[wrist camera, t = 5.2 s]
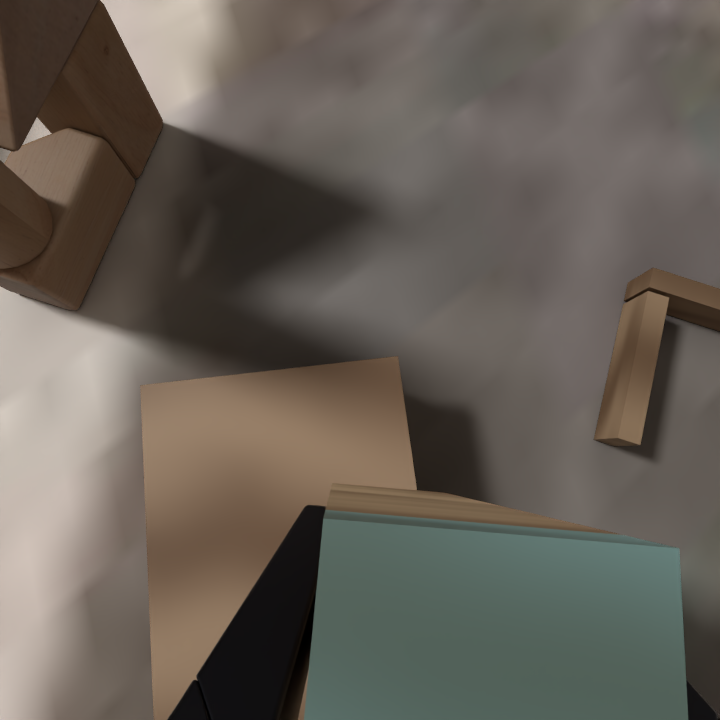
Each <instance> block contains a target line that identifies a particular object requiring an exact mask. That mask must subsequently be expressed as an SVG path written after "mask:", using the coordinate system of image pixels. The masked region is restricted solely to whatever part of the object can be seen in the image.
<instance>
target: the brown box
mask: <svg viewBox="0 0 720 720" xmlns="http://www.w3.org/2000/svg"><path fill="white" fill-rule="evenodd" d="M140 387H141V412H142V437H143V462H144V487H145V512H146V537H147V562H148V587H149V612H150V637H151V662H152V687H153V711H154V720H167V719H168V717H169V716H170V714H171V713H172V711H173V710H174V708H175V707H176V705H177V704H178V702H179V701H180V699H181V698H182V696H183V695H184V693H185V692H186V690H187V688H188V687H189V685H190V684H191V682H192V681H193V680H197V679H196V675H197V673H198V672H199V670H200V669H201V667H202V666H203V664H204V662H205V661H206V659H207V658H208V656H209V655H210V653H211V652H212V650H213V648H214V647H215V645H216V644H217V642H218V641H219V639H220V637H221V636H222V634H223V633H224V631H225V630H226V628H227V627H228V625H229V623H230V622H231V620H232V619H233V617H234V616H235V614H236V613H237V611H238V609H239V608H240V606H241V605H242V603H243V602H244V600H245V599H246V597H247V595H248V594H249V592H250V591H251V589H252V588H253V586H254V585H255V583H256V581H257V580H258V578H259V577H260V575H261V574H262V572H263V571H264V569H265V567H266V566H267V564H268V563H269V561H270V560H271V558H272V557H273V555H274V553H275V552H276V550H277V549H278V547H279V546H280V544H281V542H282V541H283V539H284V538H285V536H286V535H287V533H288V532H289V530H290V528H291V527H292V525H293V524H294V522H295V521H296V519H297V518H298V516H299V514H300V513H301V511H302V510H303V508H304V507H305V506H306V505H320V506H327V502H328V498H329V494H330V490H331V486H332V483H338V484H350V485H361V486H373V487H385V488H396V489H408V490H417V487H416V480H415V473H414V466H413V459H412V452H411V445H410V438H409V431H408V424H407V417H406V410H405V403H404V396H403V389H402V382H401V375H400V368H399V361H398V356H395V357H386V358H377V359H368V360H359V361H350V362H342V363H333V364H324V365H315V366H306V367H298V368H289V369H280V370H271V371H262V372H253V373H245V374H236V375H227V376H218V377H209V378H201V379H192V380H183V381H174V382H165V383H157V384H148V385H140ZM308 672H309V670H308ZM307 683H308V675H307V679H306V684H305V689H304V693H303V698H302V703H301V707H300V712H299V717H298V720H304V714H305V703H306V693H307Z"/></svg>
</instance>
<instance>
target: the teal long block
mask: <svg viewBox="0 0 720 720" xmlns="http://www.w3.org/2000/svg"><path fill="white" fill-rule="evenodd" d="M304 720H688V705H687V686H686V667H685V648H684V629H683V610H682V592H681V573H680V554H679V548H676V547H671V546H667V545H663V544H659V543H654V542H650V541H646V540H642V539H638V538H633V537H629V536H625V535H621V534H617V533H612V532H608V531H604V530H600V529H596V528H591V527H587V526H583V525H579V524H574V523H570V522H566V521H562V520H558V519H553V518H549V517H545V516H541V515H537V514H532V513H528V512H524V511H520V510H515V509H511V508H507V507H503V506H499V505H494V504H490V503H486V502H482V501H478V500H473V499H469V498H465V497H461V496H457V495H452V494H448V493H443V492H431V491H419V490H408V489H396V488H385V487H373V486H361V485H350V484H338V483H332V486H331V490H330V494H329V498H328V502H327V506H326V510H325V514H324V518H323V527H322V538H321V548H320V558H319V569H318V579H317V590H316V600H315V610H314V621H313V631H312V641H311V652H310V662H309V672H308V683H307V693H306V703H305V714H304Z"/></svg>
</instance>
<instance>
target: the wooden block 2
mask: <svg viewBox="0 0 720 720" xmlns="http://www.w3.org/2000/svg"><path fill="white" fill-rule="evenodd" d="M36 117H38V119H39V120H40V121H41V122H42V123H43V124H44V125H45V127H46V128H47V129H48V130H49V131H50V132H51V133H52V134H50V135H47V136H45V137H42V138H40V139H37V140H35V141H32V142H30V143H27V144H25V145H22V144H23V142H24V140H25V138H26V136H27V135H28V133H29V131H30V129H31V127H32V125H33V123H34V121H35V119H36ZM162 126H163V120H162V118H161V116H160V114H159V112H158V110H157V108H156V106H155V104H154V102H153V100H152V98H151V96H150V94H149V92H148V90H147V88H146V86H145V84H144V82H143V80H142V79H141V77H140V75H139V73H138V71H137V69H136V67H135V65H134V63H133V61H132V59H131V57H130V55H129V53H128V51H127V49H126V47H125V45H124V43H123V41H122V39H121V37H120V35H119V33H118V31H117V29H116V27H115V25H114V23H113V21H112V19H111V17H110V16H109V14H108V12H107V10H106V8H105V6H104V4H103V3H102V2H101V1H100V0H0V148H3V149H7V150H10V151H11V153H10V154H9V156H8V158H7V160H6V162H5V164H4V163H3V162H2V161H0V286H1V287H3V288H5V289H7V290H9V291H11V292H15V293H18V294H21V295H24V296H27V297H30V298H33V299H36V300H39V301H43V302H46V303H49V304H52V305H55V306H58V307H61V308H64V309H67V310H77V309H78V308H79V307H80V305H81V303H82V301H83V299H84V296H85V294H86V292H87V290H88V288H89V285H90V283H91V281H92V279H93V277H94V275H95V272H96V270H97V268H98V266H99V264H100V261H101V259H102V257H103V255H104V253H105V251H106V248H107V246H108V244H109V242H110V240H111V237H112V235H113V233H114V231H115V229H116V227H117V224H118V222H119V220H120V218H121V216H122V214H123V211H124V209H125V207H126V205H127V203H128V200H129V198H130V196H131V194H132V192H133V190H134V187H135V180H134V178H138V177H139V176H140V175H141V173H142V171H143V169H144V167H145V164H146V162H147V160H148V158H149V156H150V153H151V151H152V149H153V147H154V145H155V143H156V140H157V138H158V136H159V134H160V132H161V129H162Z"/></svg>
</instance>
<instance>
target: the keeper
mask: <svg viewBox="0 0 720 720" xmlns="http://www.w3.org/2000/svg"><path fill="white" fill-rule="evenodd" d="M624 301H626V302H627V303H625V304H623V308H622V312H621V317H620V322H619V326H618V331H617V335H616V340H615V345H614V349H613V354H612V358H611V363H610V368H609V372H608V377H607V381H606V386H605V391H604V395H603V400H602V404H601V409H600V414H599V418H598V423H597V427H596V432H595V437H594V440H596V441H600V442H603V443H606V444H609V445H612V446H632V445H640V444H641V439H642V434H643V429H644V423H645V418H646V413H647V408H648V403H649V398H650V393H651V388H652V383H653V378H654V373H655V368H656V363H657V357H658V352H659V347H660V342H661V337H662V332H663V327H664V322H665V317H666V314H667V315H670V316H673V317H676V318H679V319H682V320H686V321H689V322H692V323H695V324H698V325H701V326H704V327H707V328H710V329H714V330H717V331H720V289H719V288H715V287H712V286H709V285H706V284H703V283H700V282H697V281H694V280H690V279H687V278H684V277H681V276H678V275H675V274H672V273H669V272H665V271H662V270H659V269H656V268H652V269H650V270H648V271H647V272H645V273H643V274H642V275H640V276H638V277H637V278H635V279H633V280H632V281H630V282H628V285H627V289H626V294H625V299H624Z"/></svg>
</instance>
